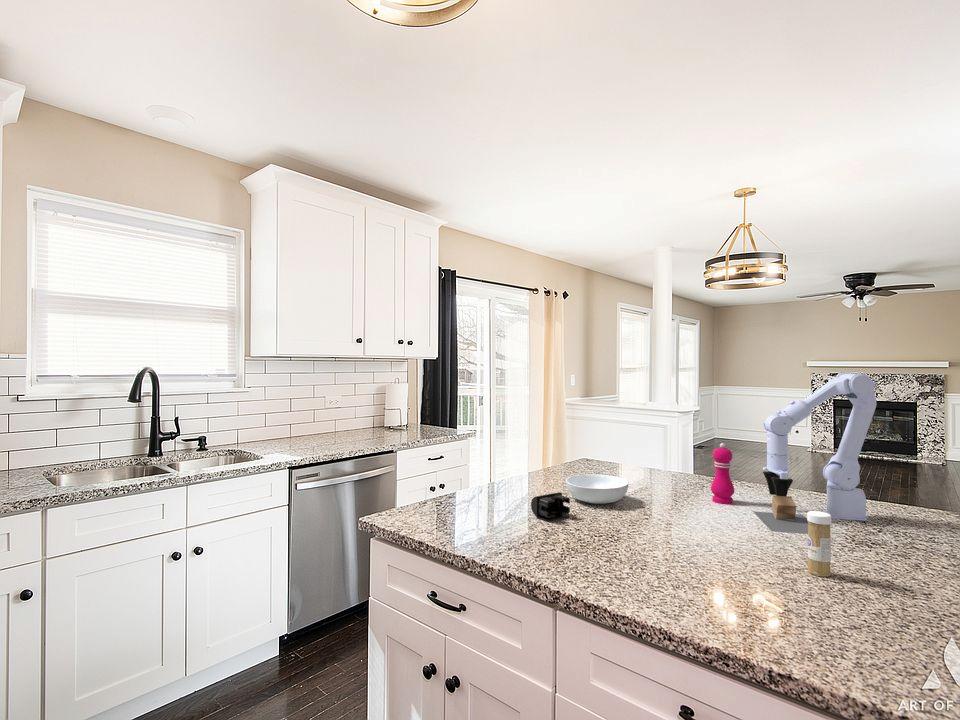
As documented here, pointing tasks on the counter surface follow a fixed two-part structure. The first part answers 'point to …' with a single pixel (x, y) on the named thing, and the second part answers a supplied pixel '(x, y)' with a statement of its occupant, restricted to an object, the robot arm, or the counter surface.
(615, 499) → the serving bowl
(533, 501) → the end cap
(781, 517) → the cube
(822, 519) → the sprinkles bottle
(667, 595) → the counter surface
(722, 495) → the pepper mill
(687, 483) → the counter surface
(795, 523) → the mat
